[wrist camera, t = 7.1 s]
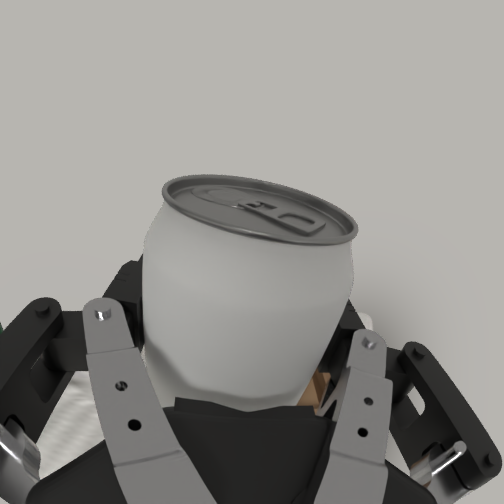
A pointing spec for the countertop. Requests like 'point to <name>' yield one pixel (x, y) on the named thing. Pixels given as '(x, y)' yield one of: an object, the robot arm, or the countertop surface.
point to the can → (242, 290)
